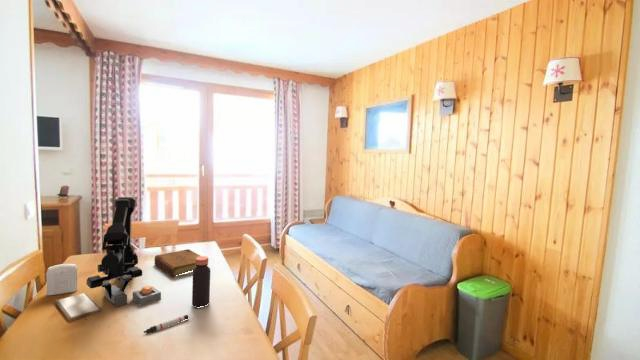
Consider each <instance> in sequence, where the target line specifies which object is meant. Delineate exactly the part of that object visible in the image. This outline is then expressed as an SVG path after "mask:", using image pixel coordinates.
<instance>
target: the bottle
mask: <svg viewBox="0 0 640 360" xmlns="http://www.w3.org/2000/svg"><path fill="white" fill-rule="evenodd" d="M208 265H209V257H208V256H205V255H200V257H197V258H196V267H195V268H194V270H193V273H192V288H191V289H192V290H191V291H192V293H191V294H192V297H191V305H193V306H196V307H200V306H205V305H207V304H208V303H209V304H210V300H211V299H210V298H211V297H210V296H211V295H210V291H211V267H209V266H208ZM193 306H192V307H193Z"/></svg>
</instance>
